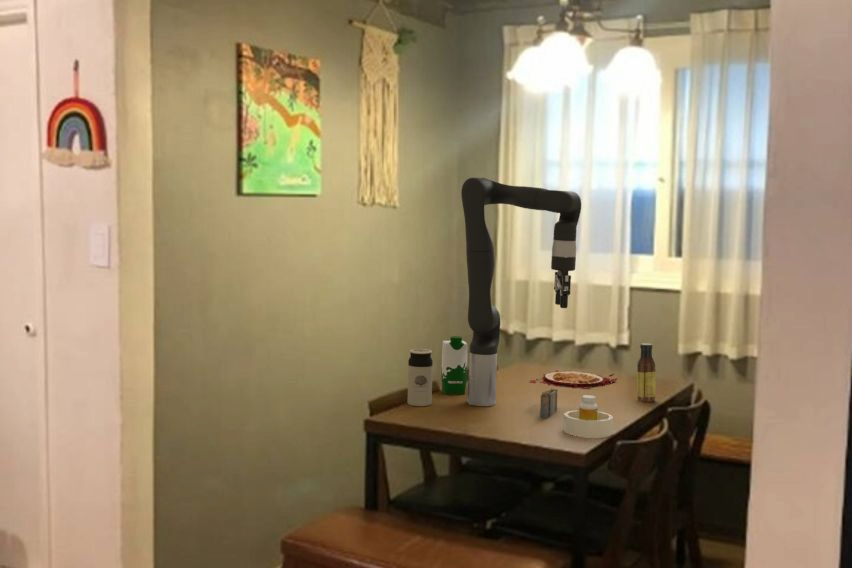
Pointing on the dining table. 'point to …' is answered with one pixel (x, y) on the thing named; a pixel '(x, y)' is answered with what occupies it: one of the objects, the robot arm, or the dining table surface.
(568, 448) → the dining table surface
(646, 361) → the sauce bottle
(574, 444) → the dining table surface
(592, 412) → the supplement bottle
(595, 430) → the bowl
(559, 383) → the plate with food
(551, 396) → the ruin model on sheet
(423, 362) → the travel mug
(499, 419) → the dining table surface
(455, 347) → the milk carton
